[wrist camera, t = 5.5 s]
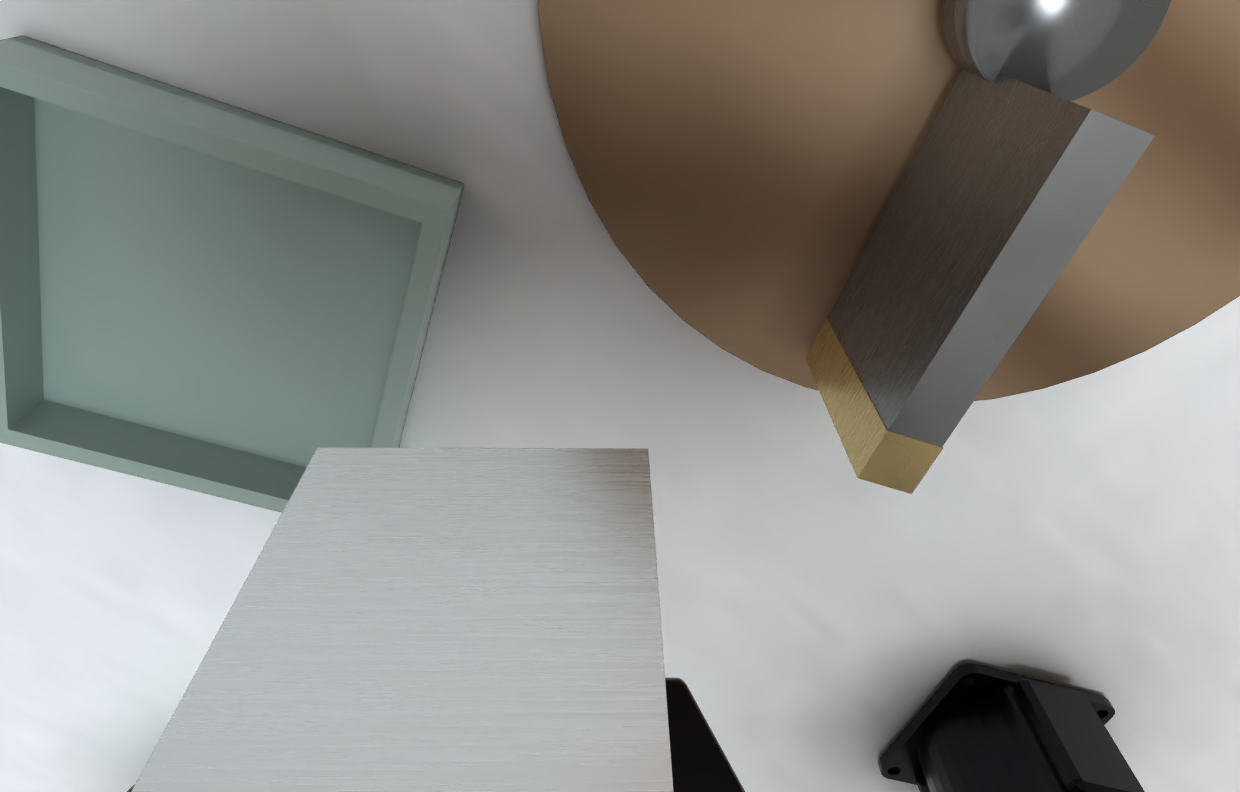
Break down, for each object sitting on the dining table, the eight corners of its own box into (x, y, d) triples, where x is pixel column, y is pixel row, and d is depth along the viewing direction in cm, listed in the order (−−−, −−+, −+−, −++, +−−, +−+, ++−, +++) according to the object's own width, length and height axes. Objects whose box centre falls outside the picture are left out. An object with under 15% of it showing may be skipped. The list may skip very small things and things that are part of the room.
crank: (1007, -145, 15) (1172, -171, 10) (1166, -70, 15) (1385, -65, 11) (762, 344, 20) (804, 462, 16) (888, 384, 20) (961, 508, 16)
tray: (387, 490, 24) (370, 534, 22) (36, 399, 22) (-12, 439, 21) (464, 184, 19) (449, 209, 17) (22, 36, 17) (-42, 47, 16)
